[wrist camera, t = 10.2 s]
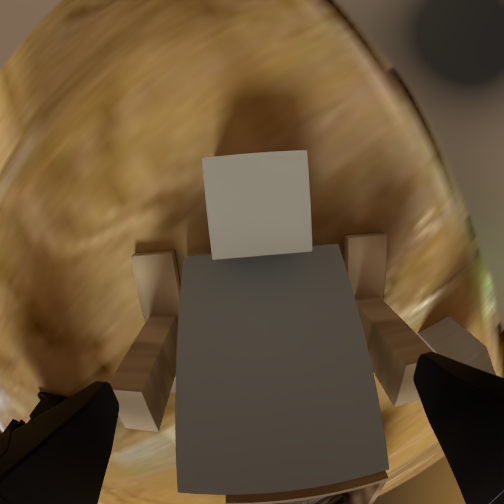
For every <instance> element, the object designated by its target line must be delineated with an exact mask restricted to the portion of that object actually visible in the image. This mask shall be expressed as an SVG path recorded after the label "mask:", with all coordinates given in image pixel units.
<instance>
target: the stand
mask: <svg viewBox="0 0 504 504" xmlns="http://www.w3.org/2000/svg"><path fill="white" fill-rule="evenodd" d="M344 244H345V253H344V263H345V267H346V270H347V273H348V277H349V280H350V283H351V287H352V290H353V294H354V297H355V301H356V305H357V308H358V312H359V316H360V320H361V323H362V327H363V331H364V335H365V339H366V343H367V348H368V352H369V356H370V361H371V365H372V370H373V372H374V373H375V375H376V377H377V378H378V380H379V382H380V383H381V385H382V387H383V389H384V390H385V392H386V394H387V395H388V397H389V399H390V400H391V402H392V404H393V406H394V407H397V406H401V405H404V404H407V403H410V402H413V401H416V400H419V399H420V397H419V394H418V392H417V389H416V387H415V384H414V380H413V376H414V372H415V368H416V364H417V361H418V357H419V356H420V355H421V354H423V353H426V352H430V351H432V350H431V349H430V348H429V347H428V346H427V345H426V344H425V342H424V341H423V340H422V339H421V338H420V337H419V336H418V335H417V334H416V333H415V332H414V331H413V330H412V329H411V328H410V327H409V326H408V325H407V324H406V323H405V322H404V321H403V320H402V319H401V318H400V317H399V316H398V315H397V314H396V313H395V312H394V311H393V310H392V309H391V308H390V307H389V306H388V305H387V304H386V303H385V302H384V301H383V300H384V289H385V276H386V260H387V234H385V233H369V234H356V235H344ZM131 261H132V267H133V272H134V277H135V281H136V286H137V291H138V295H139V300H140V304H141V308H142V312H143V316H144V320H145V325H144V326H143V328H142V329H141V331H140V333H139V334H138V336H137V337H136V339H135V341H134V342H133V344H132V346H131V347H130V349H129V351H128V352H127V354H126V356H125V357H124V359H123V361H122V362H121V364H120V366H119V367H118V369H117V371H116V372H115V374H114V376H113V378H112V379H111V381H110V385H111V386H112V389H113V391H114V393H115V395H116V398H117V400H118V402H119V413H118V415H119V417H120V419H121V421H122V422H123V424H124V426H125V428H130V429H138V430H147V431H159V428H160V425H161V421H162V418H163V415H164V411H165V408H166V405H167V401H168V398H169V395H170V393H176V355H177V333H178V316H179V301H180V288H181V287H180V281H179V275H178V269H177V263H176V256H175V250H167V251H156V252H145V253H135V254H133V255H132V256H131ZM432 352H433V351H432Z"/></svg>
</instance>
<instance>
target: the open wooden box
mask: <svg viewBox="0 0 504 504" xmlns="http://www.w3.org/2000/svg"><path fill="white" fill-rule="evenodd" d="M387 479H388V476H387V473H386V471H381V472H378V473H375V474H371V475H368V476H364V477H360V478H356V479H352V480H348V481H344V482H339V483H335V484H330V485H325V486H319V487H313V488H307V489H300V490H293V491H284V492H274V493H261V494H237V495H226V504H276V503H286V502H294V501H301V500H308V499H314V498H320V497H325V496H331V495H335V494H340V493H344V492H348V493H347V495H344V496H345V497H346V499H348V501H349V504H373V502H374V501H375V499H376V498H377V496H378V494H379V493H380V491H381V490H382V488H383V486H384V484H385V483H386V481H387Z"/></svg>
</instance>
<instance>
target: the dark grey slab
mask: <svg viewBox="0 0 504 504" xmlns="http://www.w3.org/2000/svg"><path fill="white" fill-rule="evenodd" d="M175 429H176V465H177V485H178V492H180V493H193V494H217V495H237V494H261V493H274V492H284V491H293V490H300V489H307V488H313V487H319V486H325V485H330V484H335V483H339V482H344V481H348V480H352V479H356V478H360V477H364V476H368V475H371V474H375V473H378V472H381V471H385V470H388V469H389V464H388V456H387V448H386V441H385V435H384V428H383V422H382V416H381V410H380V405H379V399H378V394H377V389H376V384H375V379H374V374H373V370H372V365H371V361H370V356H369V352H368V348H367V343H366V339H365V335H364V331H363V327H362V323H361V320H360V316H359V312H358V308H357V305H356V301H355V297H354V294H353V290H352V287H351V283H350V280H349V277H348V273H347V270H346V267H345V263H344V260H343V257H342V254H341V251H340V248H339V245H338V244H328V245H316V246H312V251H310V252H298V253H287V254H275V255H264V256H252V257H240V258H228V259H216V260H212V254H211V255H199V256H187V257H183V265H182V276H181V288H180V301H179V316H178V333H177V355H176V394H175Z"/></svg>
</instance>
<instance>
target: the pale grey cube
mask: <svg viewBox="0 0 504 504" xmlns="http://www.w3.org/2000/svg"><path fill="white" fill-rule="evenodd" d="M202 167H203V178H204V188H205V198H206V208H207V218H208V227H209V236H210V244H211V253H212V260H216V259H228V258H240V257H252V256H264V255H275V254H287V253H298V252H310V251H312V225H311V204H310V187H309V172H308V158H307V150H297V151H276V152H260V153H247V154H235V155H225V156H215V157H207V158H202Z"/></svg>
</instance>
